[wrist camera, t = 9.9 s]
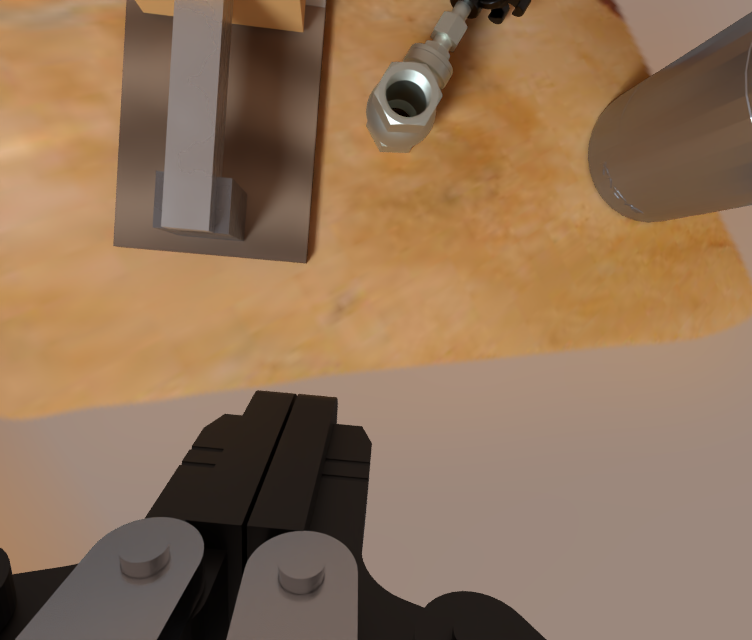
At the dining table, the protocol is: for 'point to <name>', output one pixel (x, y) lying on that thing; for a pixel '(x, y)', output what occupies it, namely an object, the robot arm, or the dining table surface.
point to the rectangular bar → (199, 129)
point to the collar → (248, 12)
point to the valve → (424, 77)
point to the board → (227, 134)
